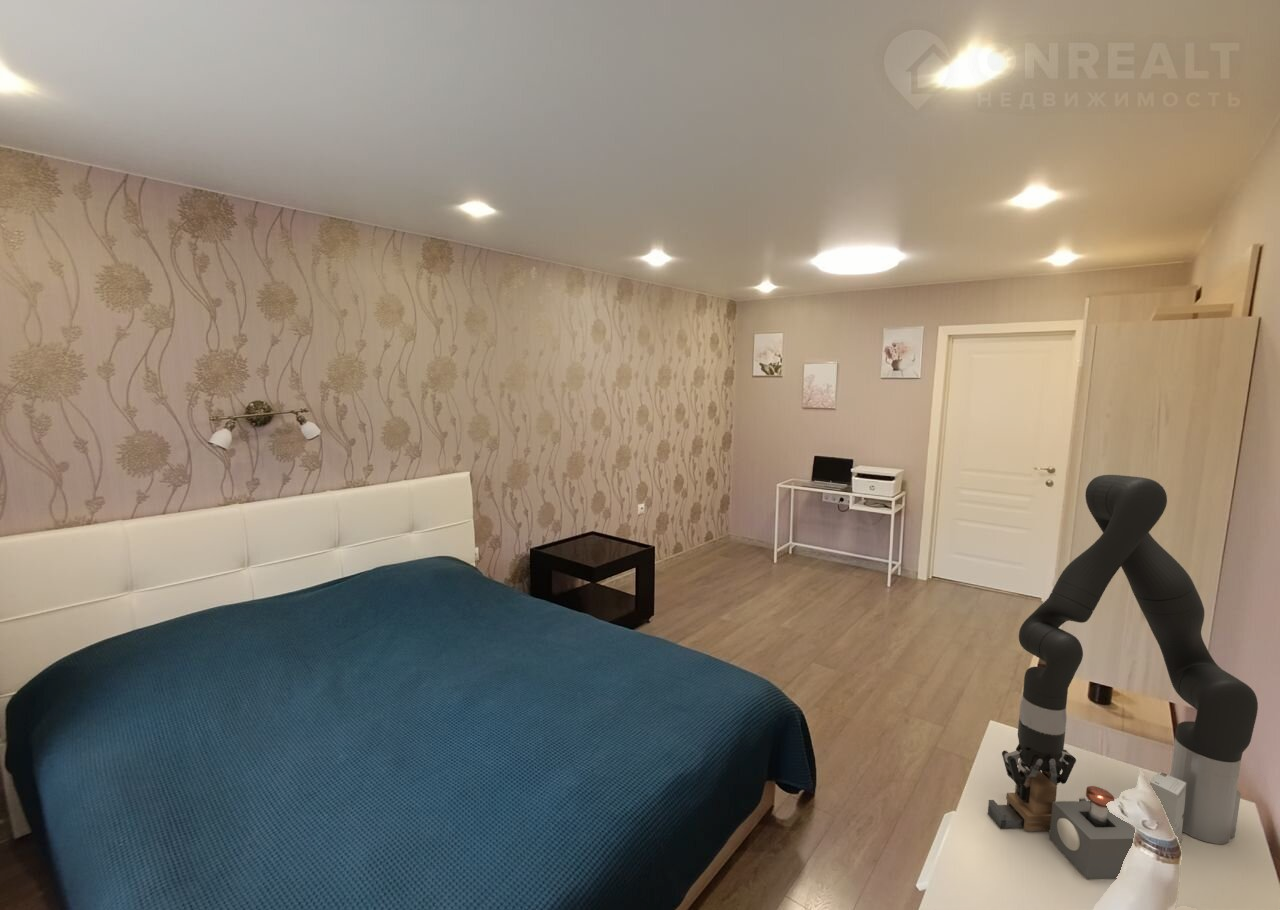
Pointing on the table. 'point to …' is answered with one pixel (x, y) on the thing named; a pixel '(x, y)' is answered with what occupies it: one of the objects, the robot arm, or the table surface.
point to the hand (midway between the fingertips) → (1034, 799)
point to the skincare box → (1171, 799)
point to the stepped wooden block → (1036, 803)
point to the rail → (1007, 815)
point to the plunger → (1098, 805)
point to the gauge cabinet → (1090, 839)
